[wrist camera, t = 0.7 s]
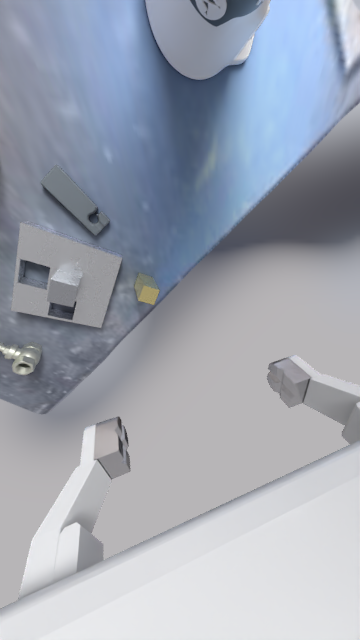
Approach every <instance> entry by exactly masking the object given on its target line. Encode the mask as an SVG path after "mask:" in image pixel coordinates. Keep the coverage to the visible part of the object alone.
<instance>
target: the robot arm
mask: <svg viewBox="0 0 360 640" xmlns="http://www.w3.org/2000/svg"><path fill="white" fill-rule="evenodd" d="M145 1H146V8H147V13H148V18H149V21H150V25H151V28H152V31H153V34H154V37H155V39H156V41H157V44H158V46H159V48H160V50H161V51H162V53H163V55H164V56H165V58H166V59H167V60H168V62H169V63H170V64H171V65H172V66H173V67H174V68H175V69H176V70H177V71H178V72H180V73H181V74H183V75H184V76H186V77H188V78H191V79H196V80H203V79H208V78H210V77H213V76H214V75H216V74H217V73H219V72H220V71H221V70H222V69H224V68H225V67H226V66H228V65H238V64H241V63H243V62H244V61H245V60H246V59H247V57H248V56H249V54H250V51H251V47H252V43H253V39H254V35H255V32H256V30H257V29H258V28H259V26H260V25H261V24H262V22H263V21H264V19H265V18H266V16H267V14H268V12H269V9H270V8H269V4H270V1H271V0H145ZM268 369H269V370H270V372H269V373H268V376H267V380H268V383H269V385H270V387H271V388H272V389H273V390H274V391H275V392H278V393H280V398H281V399H282V400H283V401H284V403H285V404H286V405H287V406H288V407H289V408H290V407H293V406H295V405H298V404H301V403H304V404H305V405H307V406H309V407H311V408H313V409H315V410H317V411H318V412H320V413H322V414H324V415H326V416H328V417H330V418H332V419H333V420H335V421H337V422H339V423H341V424H343V425H345V427H344V429H343V431H342V436H343V438H345V440H346V441H347V442H349V444H350V445H348V446H346V447H344V448H342V449H340V450H338V451H336V452H333V453H331V454H329V455H327V456H325V457H323V458H321V459H319V460H316V461H314V462H312V463H310V464H308V465H306V466H304V467H301V468H299V469H297V470H295V471H293V472H291V473H289V474H286V475H285V476H282V477H280V478H278V479H276V480H274V481H272V482H269V483H267V484H265V485H263V486H261V487H259V488H257V489H254V490H252V491H251V492H248V493H246V494H244V495H242V496H240V497H237V498H235V499H233V500H231V501H229V502H227V503H225V504H222V505H220V506H218V507H216V508H214V509H212V510H210V511H208V512H205V513H203V514H201V515H199V516H197V517H195V518H193V519H190V520H188V521H186V522H184V523H182V524H180V525H178V526H176V527H173V528H171V529H169V530H167V531H165V532H163V533H161V534H159V535H157V536H154V537H152V538H150V539H148V540H146V541H143V542H141V543H139V544H137V545H135V546H133V547H131V548H128V549H127V550H125V551H122V552H120V553H118V554H116V555H114V556H112V557H109V558H107V559H105V560H103V544H102V543H101V542H100V541H99V540H98V539H97V538H95V537H94V536H93V535H92V534H91V533H92V530H93V528H94V525H95V523H96V520H97V517H98V515H99V512H100V510H101V507H102V505H103V502H104V500H105V497H106V495H107V492H108V489H109V487H110V484H111V482H112V480H111V479H113V478H116V477H118V476H121V475H123V474H125V473H128V472H130V458H129V454H128V452H127V448H128V437H127V433H126V429H125V427H124V426H123V425H122V424H121V419H120V417H116V418H113V419H109V420H106V421H103V422H100V423H97V424H94V425H91V426H88V427H86V428H85V430H84V434H83V442H82V443H83V444H82V451H81V460H80V466H78V467H76V469H75V470H74V472H73V474H72V475H71V477H70V479H69V480H68V482H67V483H66V485H65V487H64V488H63V490H62V492H61V493H60V495H59V497H58V498H57V500H56V501H55V503H54V505H53V507H52V508H51V510H50V511H49V513H48V514H47V516H46V518H45V519H44V521H43V523H42V524H41V526H40V528H39V529H38V531H37V532H36V534H35V536H34V537H33V539H32V542H31V546H30V550H29V555H28V560H27V564H26V568H25V572H24V577H23V581H22V585H21V589H20V594H19V598H18V600H17V601H16V602H13V603H11V604H9V605H7V606H5V607H3V608H0V640H360V386H359V385H356V384H353V383H350V382H347V381H344V380H341V379H338V378H335V377H332V376H328V375H326V374H320V373H318V372H317V371H316V370H315V369H313V368H312V367H311V366H310V365H308V364H307V363H306V362H305V361H303V360H302V359H300V358H299V357H298V356H296V355H293V356H290V357H287V358H284V359H281V360H278V361H275V362H273V363H270V364H269V368H268Z"/></svg>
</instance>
